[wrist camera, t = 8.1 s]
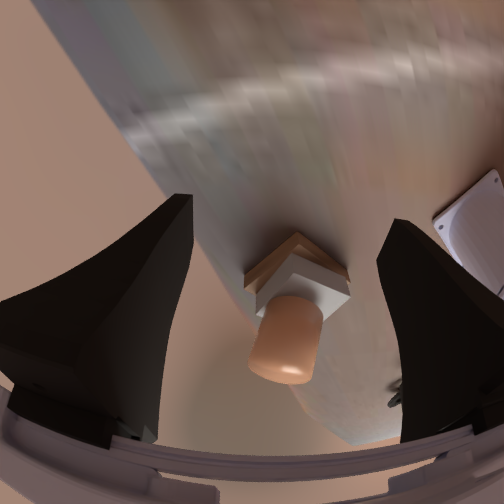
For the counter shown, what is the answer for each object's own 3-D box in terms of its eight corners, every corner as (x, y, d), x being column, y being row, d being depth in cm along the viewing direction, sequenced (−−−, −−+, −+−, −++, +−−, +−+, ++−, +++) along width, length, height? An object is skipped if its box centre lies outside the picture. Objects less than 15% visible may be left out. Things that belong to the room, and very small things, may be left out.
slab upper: (345, 277, 24) (350, 296, 22) (307, 313, 27) (309, 332, 26) (291, 252, 23) (293, 272, 21) (256, 294, 26) (255, 314, 24)
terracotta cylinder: (324, 332, 24) (312, 387, 20) (271, 327, 25) (254, 378, 22) (322, 298, 21) (309, 360, 17) (261, 293, 22) (240, 350, 19)
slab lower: (345, 265, 26) (350, 283, 25) (295, 301, 30) (296, 318, 28) (296, 226, 24) (299, 243, 22) (244, 270, 27) (243, 289, 25)
